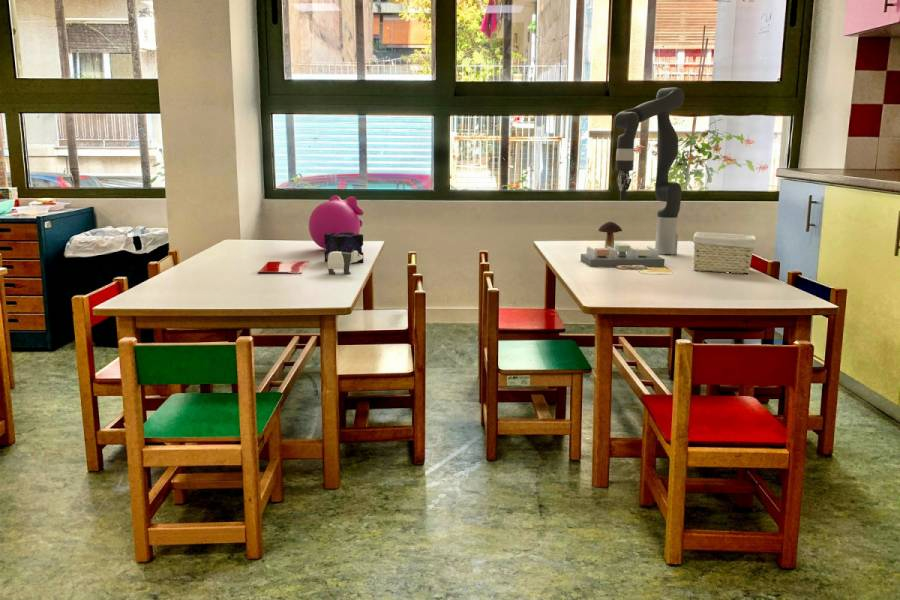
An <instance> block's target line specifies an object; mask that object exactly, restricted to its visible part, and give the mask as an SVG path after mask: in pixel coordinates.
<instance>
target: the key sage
mask: <svg viewBox="0 0 900 600" xmlns="http://www.w3.org/2000/svg"><path fill="white" fill-rule="evenodd" d="M630 247H631V245H629V244H626V243H616V244H615V243H614V249H616V250H618V254H619V256H626V254H627V252H630Z"/></svg>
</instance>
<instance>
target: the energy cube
mask: <svg viewBox="0 0 900 600" xmlns="http://www.w3.org/2000/svg"><path fill="white" fill-rule="evenodd" d="M324 244H325V245H326V249H325V251H324V262H326V263H328V259H326V255H327V254H329V253H330V252H335V251H337V252H347V253H351V252H352V250H354V251H357V252H358V253H359V254H360V255H362V256H364V252H363V251H362V250H363V249H362V248H363V246H364V234H361V233H359V234H354V233H352V232H341V233H340V234H335V233H326V234H324ZM352 264H364V257H363V258H362V259H361V260H359V261H357V262H353V263H352Z"/></svg>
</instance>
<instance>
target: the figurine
mask: <svg viewBox="0 0 900 600" xmlns="http://www.w3.org/2000/svg"><path fill="white" fill-rule="evenodd" d="M363 215H364V211H363V210H362V208H360V206H358V201H357V198H356V196H352V195H351V196H348V197H346V198H345V199H341V197H340V196H339V195H336V194H335V195H332V196H331V197H330V198H329V200H328V201H325V202H323V203H320V204H319V205H317V206H316V207H315V208H314V209H313V210H312V212H311V213H310V217H309V220H308V232H309V235H310V237H311V239H312V241H313V242H314V243H315V244H316V245H317V246H318V247H319V248H322V249H324V250H326V245H325V244H324V234H326V233H335V234H340V233H341V232H352V233H354V234H360V232H361V227H362V226H363V221H362V220H361V219H360V218H359V216H363Z"/></svg>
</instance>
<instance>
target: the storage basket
mask: <svg viewBox="0 0 900 600" xmlns="http://www.w3.org/2000/svg"><path fill="white" fill-rule="evenodd" d="M692 241H693V242H692V243H693V245H694V246H693V249H694V251H693V270H694V271H699V272H700V271H701V272H710V271H713V273H714V272H715V273H717V272H718V273H723V272H731V273H730V274H738V273H749V274H750V268H751V265H752V264H751V262H752V259H753V258H752V257H753V253H754V249H755V248H756V241H757V238H756V236H755V235H753V234H752V235H749V234H739V233H738V234H737V233H724V232H721V233H720V232H706V231H705V232H704V231H703V232H702V231H696V232H695V233H694V235H693V239H692Z"/></svg>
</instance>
